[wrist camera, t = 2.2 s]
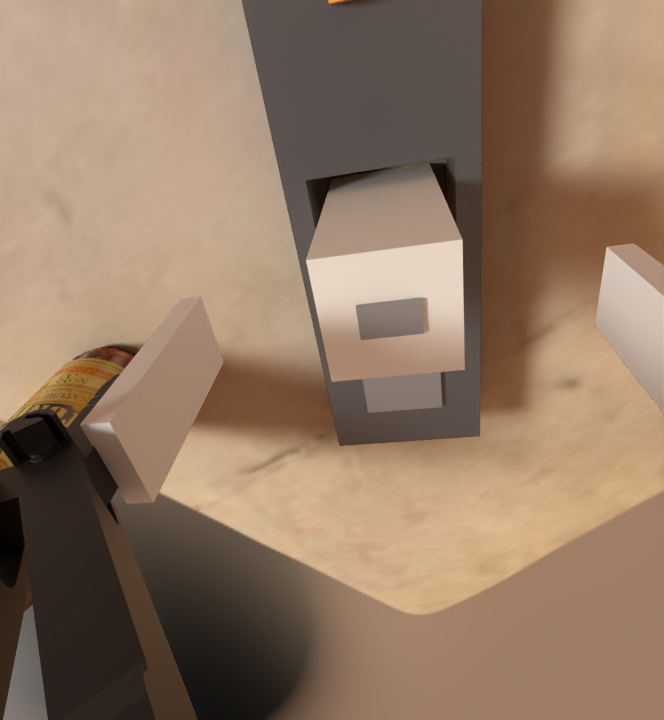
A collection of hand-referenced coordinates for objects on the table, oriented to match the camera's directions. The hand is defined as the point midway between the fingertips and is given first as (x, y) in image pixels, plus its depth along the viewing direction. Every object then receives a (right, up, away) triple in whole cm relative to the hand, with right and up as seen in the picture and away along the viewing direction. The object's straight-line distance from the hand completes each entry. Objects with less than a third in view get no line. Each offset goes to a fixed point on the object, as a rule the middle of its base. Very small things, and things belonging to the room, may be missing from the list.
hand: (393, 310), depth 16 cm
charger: (+1, +5, +7) cm, 9 cm away
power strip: (0, +7, +6) cm, 9 cm away
